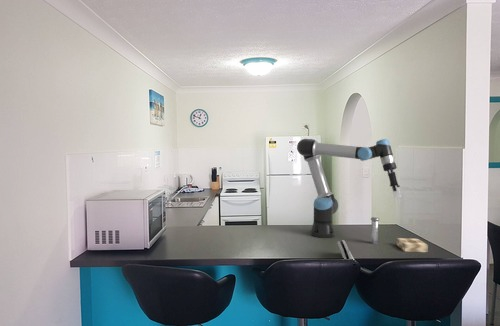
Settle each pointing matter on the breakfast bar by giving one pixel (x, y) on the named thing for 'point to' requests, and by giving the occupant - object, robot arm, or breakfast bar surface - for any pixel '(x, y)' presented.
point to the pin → (374, 230)
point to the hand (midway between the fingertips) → (398, 197)
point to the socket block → (412, 245)
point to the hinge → (344, 250)
